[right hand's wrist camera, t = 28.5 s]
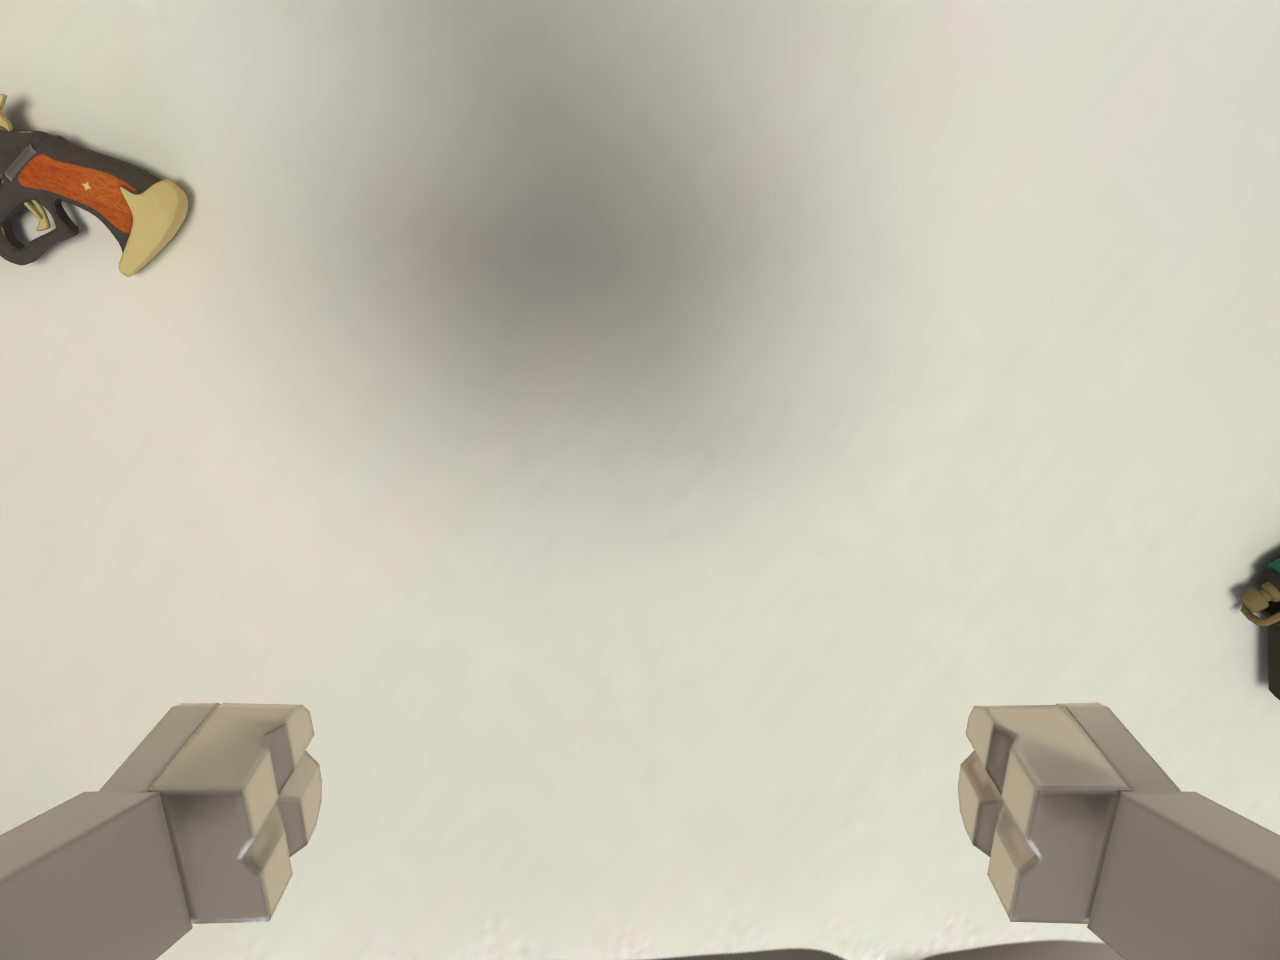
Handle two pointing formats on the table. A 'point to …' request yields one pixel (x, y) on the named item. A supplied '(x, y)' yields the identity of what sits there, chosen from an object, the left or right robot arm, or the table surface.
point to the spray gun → (1268, 618)
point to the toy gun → (82, 196)
